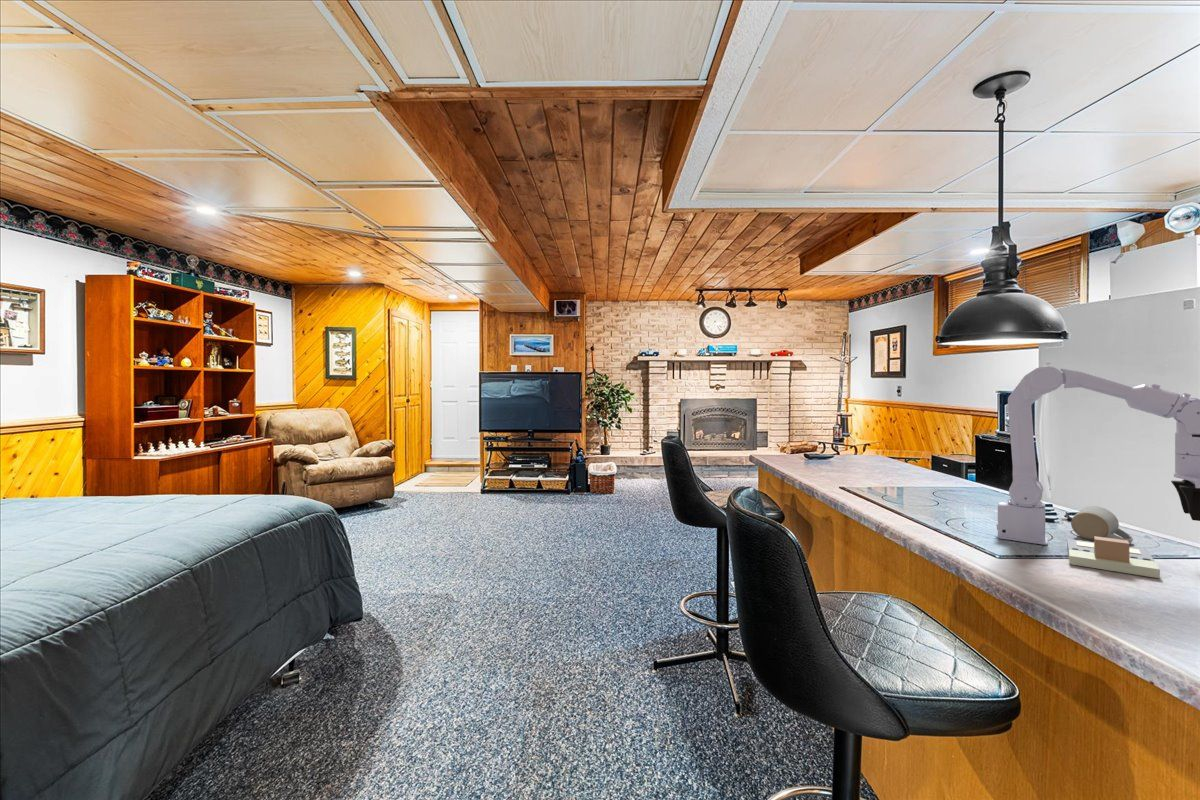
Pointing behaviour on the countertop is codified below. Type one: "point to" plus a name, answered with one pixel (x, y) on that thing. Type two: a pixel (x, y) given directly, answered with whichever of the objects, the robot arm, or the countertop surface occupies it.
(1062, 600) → the countertop surface
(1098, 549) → the stub
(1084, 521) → the ceramic mug
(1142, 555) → the board
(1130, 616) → the countertop surface
